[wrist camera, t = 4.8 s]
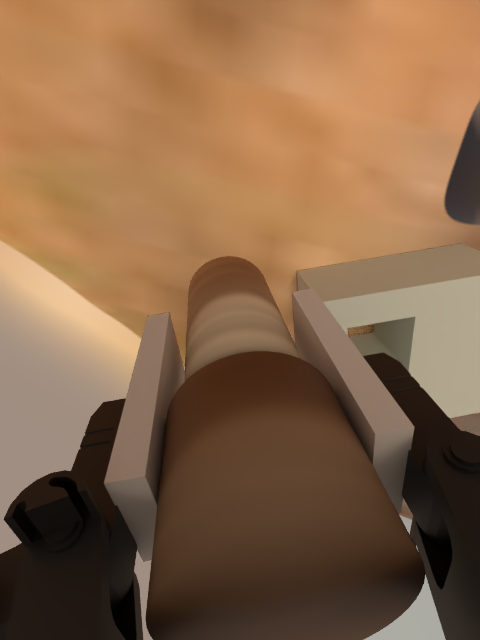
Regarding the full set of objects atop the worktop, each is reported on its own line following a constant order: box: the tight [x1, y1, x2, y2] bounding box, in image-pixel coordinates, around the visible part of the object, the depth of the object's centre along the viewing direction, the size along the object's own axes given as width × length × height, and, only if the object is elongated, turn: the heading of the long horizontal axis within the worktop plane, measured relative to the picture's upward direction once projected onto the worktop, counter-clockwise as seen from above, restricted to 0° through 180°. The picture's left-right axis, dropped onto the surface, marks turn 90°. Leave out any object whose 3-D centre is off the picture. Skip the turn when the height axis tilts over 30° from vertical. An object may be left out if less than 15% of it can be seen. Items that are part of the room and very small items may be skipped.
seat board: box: [297, 244, 480, 418], centre depth 33 cm, size 15×16×7 cm
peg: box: [146, 256, 425, 640], centre depth 11 cm, size 4×4×12 cm
